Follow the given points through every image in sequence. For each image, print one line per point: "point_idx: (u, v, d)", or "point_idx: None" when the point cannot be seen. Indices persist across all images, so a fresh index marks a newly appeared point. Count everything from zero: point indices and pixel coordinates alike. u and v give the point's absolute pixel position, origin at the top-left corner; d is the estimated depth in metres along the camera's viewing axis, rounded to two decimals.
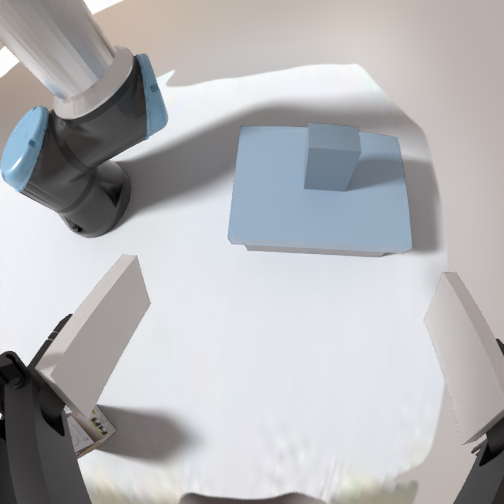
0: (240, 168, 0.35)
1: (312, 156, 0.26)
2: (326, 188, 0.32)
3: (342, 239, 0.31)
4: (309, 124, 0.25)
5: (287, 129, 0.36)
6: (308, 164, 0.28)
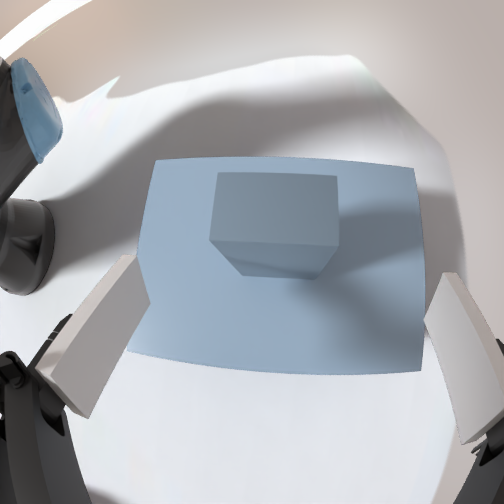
0: (146, 236, 0.21)
1: (228, 250, 0.13)
2: (281, 276, 0.19)
3: (303, 367, 0.18)
4: (220, 176, 0.12)
5: (225, 162, 0.22)
6: (228, 257, 0.14)
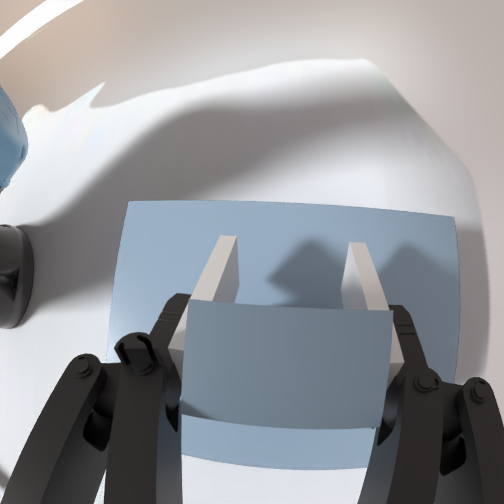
0: (119, 303, 0.16)
1: None
2: None
3: (308, 463, 0.13)
4: (192, 308, 0.07)
5: (216, 208, 0.17)
6: None
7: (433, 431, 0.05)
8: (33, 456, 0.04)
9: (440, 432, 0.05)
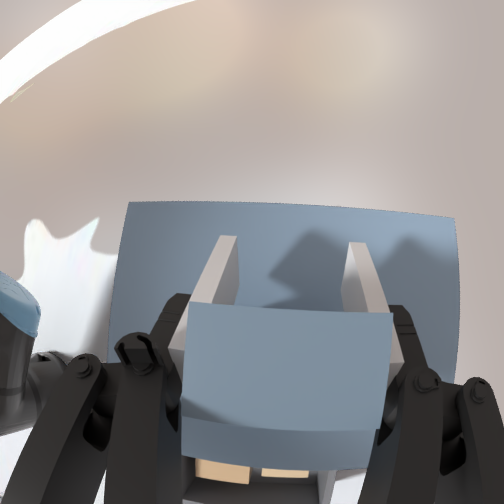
0: (119, 304, 0.16)
1: None
2: None
3: (308, 464, 0.13)
4: (193, 310, 0.07)
5: (216, 209, 0.17)
6: None
7: (433, 431, 0.05)
8: (33, 456, 0.04)
9: (440, 432, 0.05)
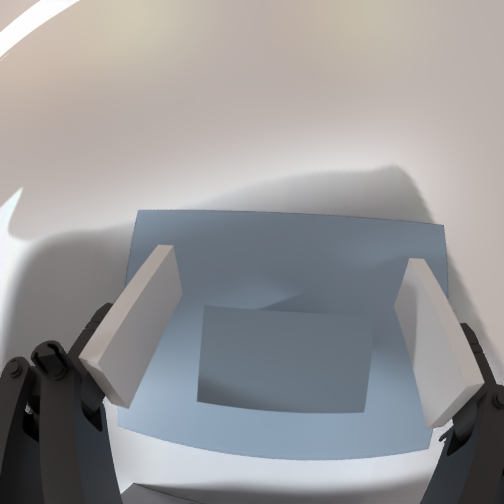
0: None
1: None
2: None
3: (306, 453, 0.14)
4: (207, 312, 0.08)
5: (220, 218, 0.19)
6: None
7: (501, 445, 0.04)
8: None
9: None
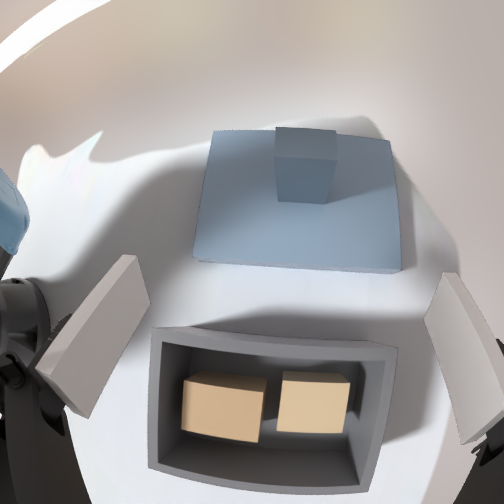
0: (209, 178, 0.32)
1: (280, 166, 0.23)
2: (303, 201, 0.29)
3: (319, 259, 0.28)
4: (277, 129, 0.22)
5: (264, 133, 0.32)
6: (277, 175, 0.24)
7: None
8: None
9: None
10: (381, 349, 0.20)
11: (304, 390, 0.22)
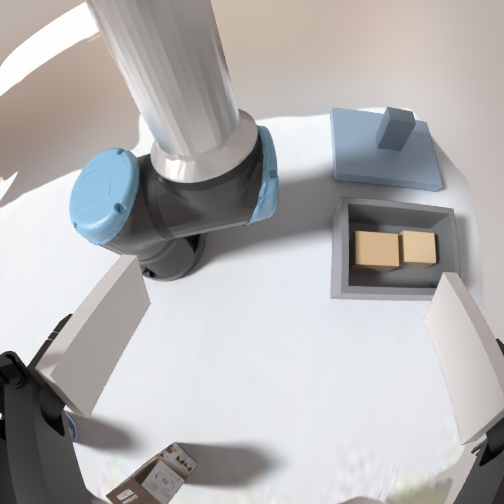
0: (337, 133, 0.50)
1: (390, 125, 0.41)
2: (390, 148, 0.47)
3: (403, 177, 0.46)
4: (387, 107, 0.40)
5: (361, 112, 0.50)
6: (386, 130, 0.42)
7: None
8: None
9: None
10: (446, 208, 0.38)
11: (414, 236, 0.40)
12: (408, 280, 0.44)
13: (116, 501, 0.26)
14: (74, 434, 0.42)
